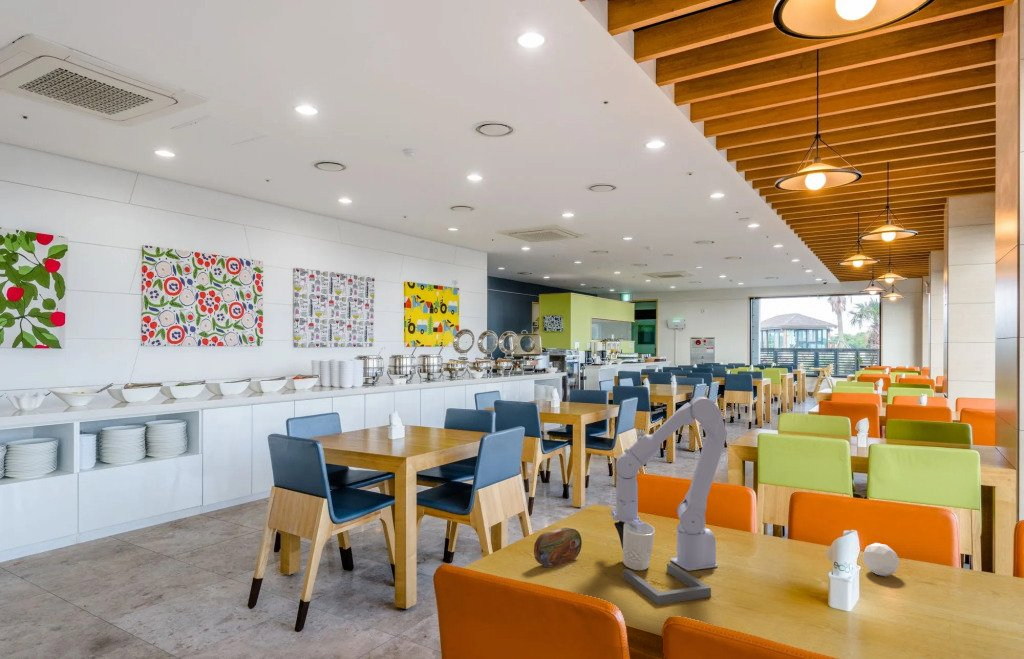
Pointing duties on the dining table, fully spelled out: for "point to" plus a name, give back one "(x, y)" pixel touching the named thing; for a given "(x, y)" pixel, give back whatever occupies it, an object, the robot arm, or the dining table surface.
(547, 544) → the tin
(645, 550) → the white cup
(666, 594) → the gray u-shaped frame
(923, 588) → the dining table surface
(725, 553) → the dining table surface
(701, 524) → the robot arm
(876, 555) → the geometric ball
